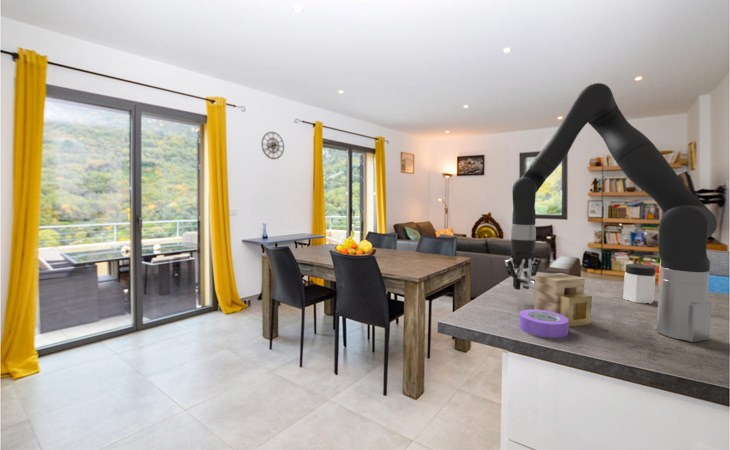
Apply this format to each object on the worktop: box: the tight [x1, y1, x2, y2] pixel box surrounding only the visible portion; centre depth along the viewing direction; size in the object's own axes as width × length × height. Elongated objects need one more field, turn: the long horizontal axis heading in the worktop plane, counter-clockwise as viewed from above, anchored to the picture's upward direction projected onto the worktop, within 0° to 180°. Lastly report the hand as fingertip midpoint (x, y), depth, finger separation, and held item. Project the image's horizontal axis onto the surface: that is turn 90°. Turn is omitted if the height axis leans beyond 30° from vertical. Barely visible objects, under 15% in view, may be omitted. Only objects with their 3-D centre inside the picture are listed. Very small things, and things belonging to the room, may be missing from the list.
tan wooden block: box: [533, 272, 585, 316], centre depth 104 cm, size 8×10×12 cm
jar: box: [622, 263, 657, 305], centre depth 121 cm, size 9×8×12 cm
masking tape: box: [518, 309, 569, 339], centre depth 94 cm, size 12×12×4 cm
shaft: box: [520, 275, 566, 295], centre depth 112 cm, size 19×3×3 cm, turn 17°
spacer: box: [559, 292, 593, 328], centre depth 98 cm, size 3×8×8 cm, turn 107°
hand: (521, 288), depth 119 cm, fingers closed on shaft, 3 cm apart
